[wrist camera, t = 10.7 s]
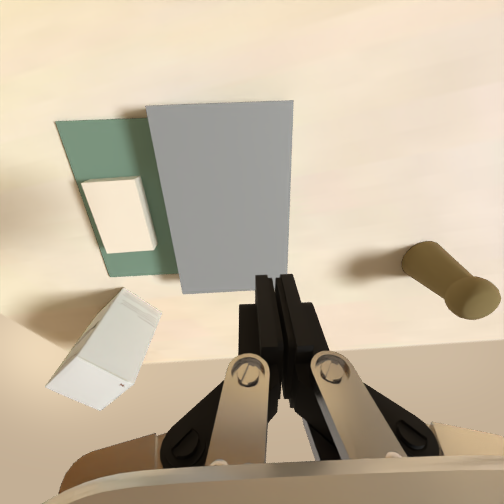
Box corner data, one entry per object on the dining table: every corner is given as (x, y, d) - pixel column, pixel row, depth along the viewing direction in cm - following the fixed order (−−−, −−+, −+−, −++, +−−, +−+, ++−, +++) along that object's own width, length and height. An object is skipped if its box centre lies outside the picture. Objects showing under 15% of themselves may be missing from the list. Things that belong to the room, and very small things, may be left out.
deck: (157, 107, 28) (145, 105, 24) (286, 102, 28) (293, 100, 24) (188, 277, 38) (182, 294, 34) (282, 272, 38) (286, 288, 35)
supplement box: (123, 285, 38) (76, 355, 27) (163, 312, 41) (135, 386, 30) (96, 312, 40) (41, 387, 29) (136, 336, 43) (100, 413, 32)
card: (134, 179, 29) (140, 175, 31) (80, 183, 29) (89, 179, 31) (153, 250, 33) (157, 243, 35) (106, 253, 33) (113, 246, 35)
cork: (405, 282, 40) (458, 334, 31) (397, 252, 38) (453, 299, 28) (445, 266, 39) (512, 316, 30) (440, 234, 37) (512, 277, 27)
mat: (56, 121, 28) (55, 121, 28) (149, 117, 28) (149, 117, 28) (110, 275, 37) (109, 277, 37) (180, 272, 37) (179, 273, 37)
